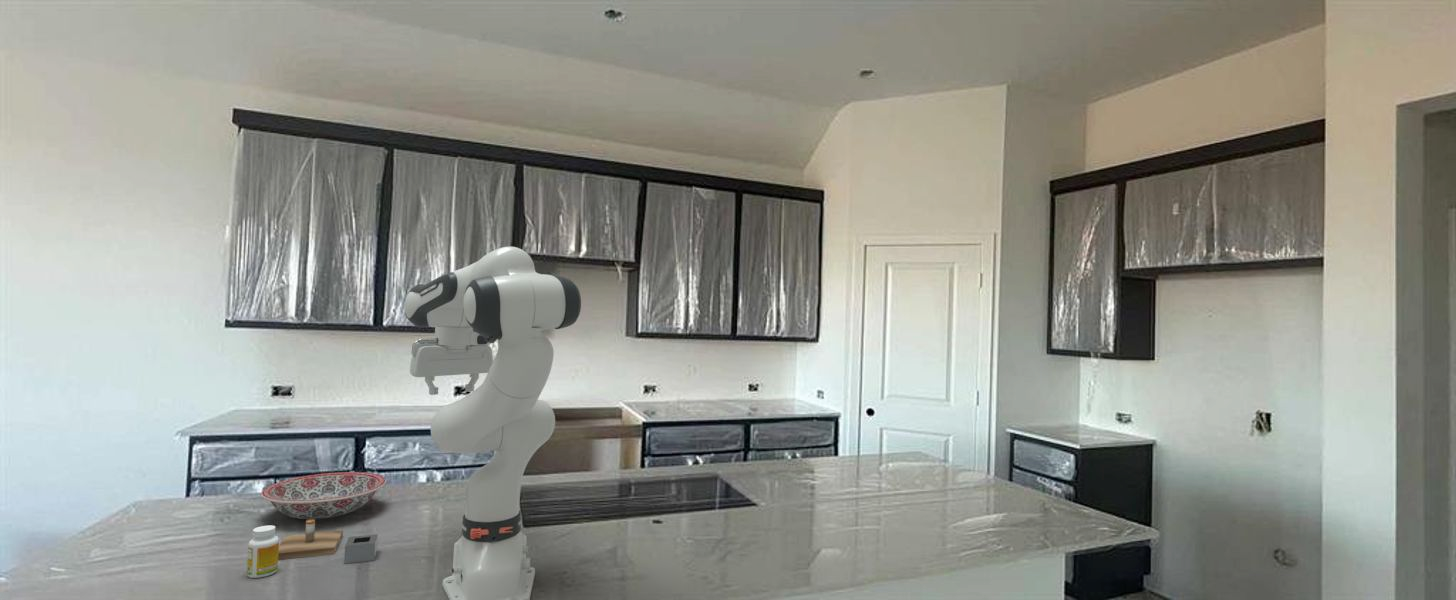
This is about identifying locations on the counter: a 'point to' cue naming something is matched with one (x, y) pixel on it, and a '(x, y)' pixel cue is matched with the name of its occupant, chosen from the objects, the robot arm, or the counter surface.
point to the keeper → (309, 543)
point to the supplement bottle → (263, 552)
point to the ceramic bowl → (323, 494)
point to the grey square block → (361, 548)
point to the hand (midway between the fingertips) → (451, 392)
